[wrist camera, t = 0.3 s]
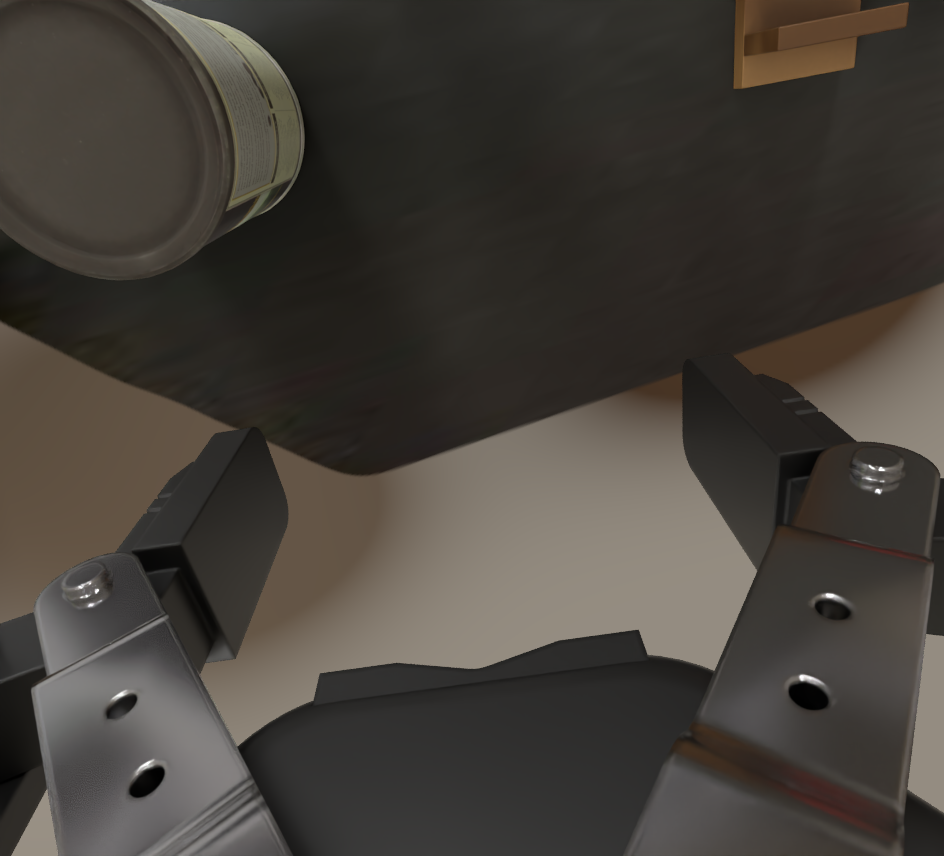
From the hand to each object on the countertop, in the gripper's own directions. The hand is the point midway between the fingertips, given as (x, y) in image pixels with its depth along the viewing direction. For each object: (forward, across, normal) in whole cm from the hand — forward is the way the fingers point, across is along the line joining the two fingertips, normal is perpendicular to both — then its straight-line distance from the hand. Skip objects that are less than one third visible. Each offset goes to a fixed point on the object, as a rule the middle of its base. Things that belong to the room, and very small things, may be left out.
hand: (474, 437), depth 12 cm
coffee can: (+29, +13, -6) cm, 32 cm away
